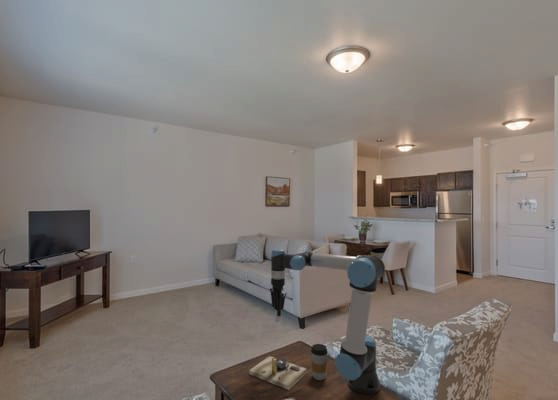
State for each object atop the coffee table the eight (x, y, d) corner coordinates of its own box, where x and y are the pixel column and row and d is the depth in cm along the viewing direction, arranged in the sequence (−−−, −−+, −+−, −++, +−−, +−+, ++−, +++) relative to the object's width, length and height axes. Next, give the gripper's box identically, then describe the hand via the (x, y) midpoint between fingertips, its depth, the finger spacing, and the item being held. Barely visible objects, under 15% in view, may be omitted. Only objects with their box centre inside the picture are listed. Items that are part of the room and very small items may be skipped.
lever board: (306, 372, 154) (306, 365, 154) (289, 390, 139) (289, 382, 139) (269, 359, 167) (269, 353, 167) (249, 374, 152) (249, 367, 152)
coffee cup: (326, 382, 145) (327, 351, 145) (310, 380, 147) (310, 350, 147) (327, 373, 153) (327, 344, 154) (311, 371, 155) (311, 342, 155)
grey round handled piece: (277, 359, 162) (277, 346, 162) (292, 363, 157) (292, 350, 158) (265, 372, 149) (265, 358, 150) (281, 376, 145) (281, 362, 145)
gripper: (265, 276, 164) (265, 319, 163) (279, 281, 153) (278, 326, 152) (276, 274, 168) (276, 316, 167) (290, 279, 157) (290, 323, 157)
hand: (277, 321), depth 160 cm, fingers closed
